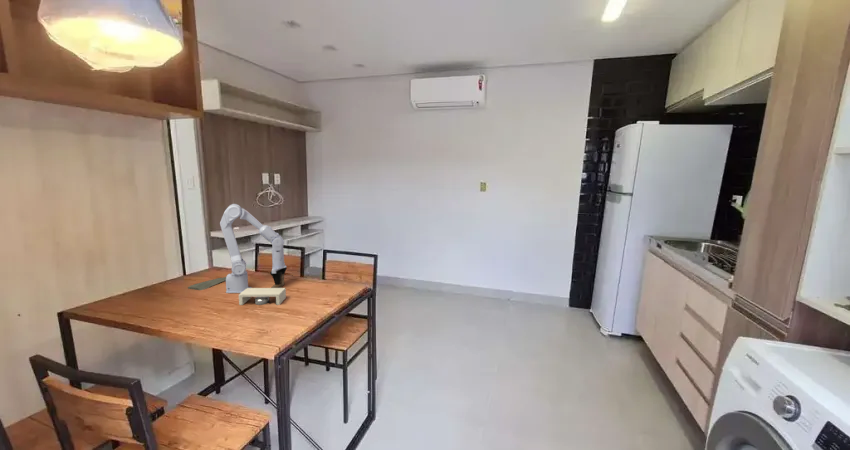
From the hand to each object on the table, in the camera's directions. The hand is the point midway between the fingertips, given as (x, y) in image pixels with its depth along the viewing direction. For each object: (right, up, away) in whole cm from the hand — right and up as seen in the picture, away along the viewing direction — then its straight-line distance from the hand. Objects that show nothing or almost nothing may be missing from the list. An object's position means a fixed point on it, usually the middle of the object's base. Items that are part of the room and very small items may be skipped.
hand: (279, 282), depth 185 cm
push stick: (0, -3, -6) cm, 6 cm away
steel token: (+2, -6, -23) cm, 24 cm away
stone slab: (-38, -1, +3) cm, 38 cm away
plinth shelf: (+2, -5, -21) cm, 22 cm away
